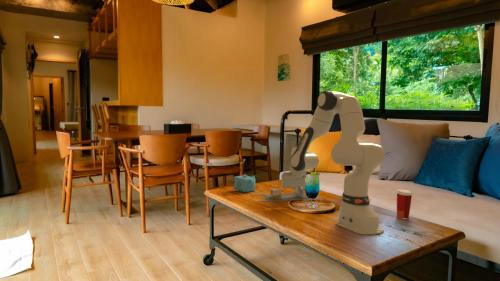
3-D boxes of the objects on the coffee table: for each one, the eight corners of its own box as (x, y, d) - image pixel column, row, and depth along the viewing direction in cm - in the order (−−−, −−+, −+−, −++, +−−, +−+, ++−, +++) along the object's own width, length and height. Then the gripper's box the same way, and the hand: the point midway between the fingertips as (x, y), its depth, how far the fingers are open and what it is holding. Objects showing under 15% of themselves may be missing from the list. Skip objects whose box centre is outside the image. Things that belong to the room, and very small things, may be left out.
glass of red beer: (409, 216, 175) (411, 190, 174) (412, 220, 168) (414, 193, 167) (393, 214, 177) (395, 188, 176) (395, 218, 170) (397, 191, 169)
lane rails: (320, 200, 202) (320, 198, 201) (257, 203, 190) (257, 201, 190) (309, 194, 215) (309, 193, 215) (250, 197, 203) (250, 195, 203)
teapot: (226, 191, 217) (227, 174, 216) (247, 188, 229) (248, 171, 228) (242, 196, 205) (243, 178, 204) (263, 192, 217) (264, 175, 216)
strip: (308, 200, 201) (308, 190, 201) (267, 201, 193) (268, 192, 193) (300, 195, 212) (300, 186, 211) (261, 197, 204) (262, 187, 203)
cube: (281, 198, 199) (281, 190, 199) (273, 198, 198) (273, 190, 197) (278, 196, 204) (278, 188, 203) (270, 196, 202) (270, 188, 202)
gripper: (283, 173, 197) (282, 196, 198) (314, 172, 203) (313, 194, 204) (279, 171, 203) (278, 193, 204) (309, 170, 209) (308, 192, 210)
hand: (296, 194), depth 204 cm, fingers closed
